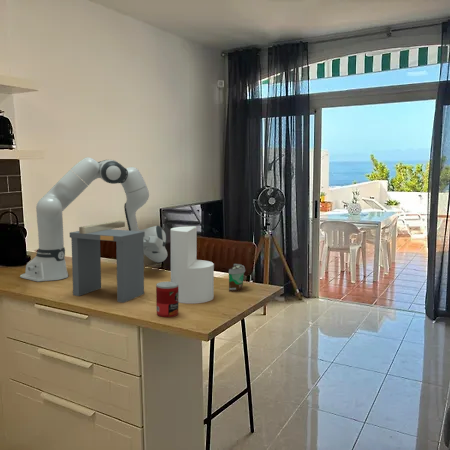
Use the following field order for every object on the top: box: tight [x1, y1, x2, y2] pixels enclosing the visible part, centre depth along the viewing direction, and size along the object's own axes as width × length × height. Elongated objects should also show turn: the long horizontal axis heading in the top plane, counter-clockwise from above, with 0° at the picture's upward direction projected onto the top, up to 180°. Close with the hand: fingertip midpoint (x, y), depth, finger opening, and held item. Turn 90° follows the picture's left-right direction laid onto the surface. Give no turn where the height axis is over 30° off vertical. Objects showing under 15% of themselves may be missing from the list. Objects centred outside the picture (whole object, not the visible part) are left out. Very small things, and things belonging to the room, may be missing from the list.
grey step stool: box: [69, 229, 145, 304], centre depth 184 cm, size 25×16×26 cm, turn 67°
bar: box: [78, 220, 126, 234], centre depth 190 cm, size 3×26×2 cm, turn 157°
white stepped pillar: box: [170, 225, 215, 305], centre depth 181 cm, size 17×17×28 cm
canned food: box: [155, 281, 179, 318], centre depth 161 cm, size 8×8×11 cm
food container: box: [228, 263, 246, 293], centre depth 196 cm, size 12×6×10 cm, turn 168°
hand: (132, 234), depth 209 cm, fingers open, 8 cm apart
